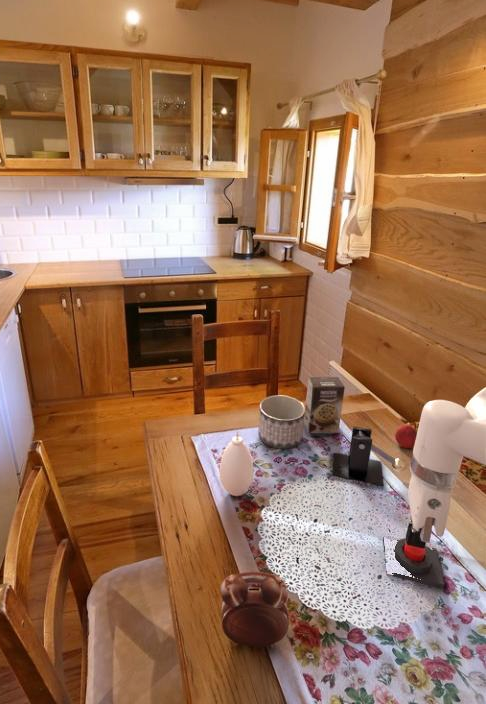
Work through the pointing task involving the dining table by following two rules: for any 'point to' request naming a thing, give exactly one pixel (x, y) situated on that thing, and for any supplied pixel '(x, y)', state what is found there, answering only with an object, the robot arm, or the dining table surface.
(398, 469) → the switch lever
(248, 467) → the pale pink tall ovoid
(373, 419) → the dining table surface
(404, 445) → the onion
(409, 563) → the button box
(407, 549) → the red button
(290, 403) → the planter
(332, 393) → the cookie box
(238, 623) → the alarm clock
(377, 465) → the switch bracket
